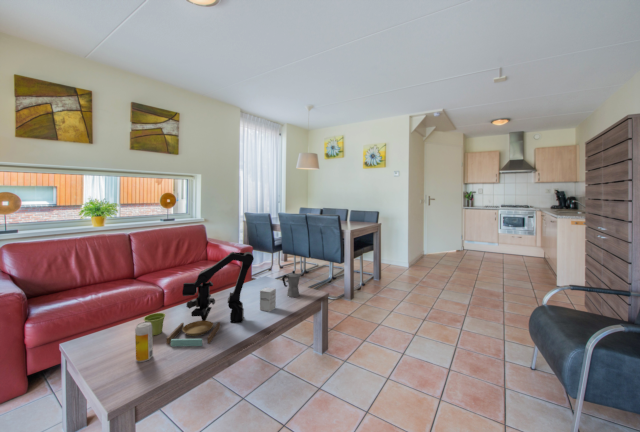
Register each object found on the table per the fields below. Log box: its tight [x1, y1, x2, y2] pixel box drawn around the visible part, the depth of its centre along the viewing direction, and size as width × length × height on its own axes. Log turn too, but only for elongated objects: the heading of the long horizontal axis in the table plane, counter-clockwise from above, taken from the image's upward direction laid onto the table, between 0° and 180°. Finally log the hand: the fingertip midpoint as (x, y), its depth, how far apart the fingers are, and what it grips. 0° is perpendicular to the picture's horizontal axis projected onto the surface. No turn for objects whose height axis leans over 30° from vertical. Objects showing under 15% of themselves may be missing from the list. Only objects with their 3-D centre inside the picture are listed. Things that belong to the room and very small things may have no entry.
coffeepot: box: [281, 270, 303, 298], centre depth 196 cm, size 15×9×18 cm, turn 122°
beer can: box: [134, 321, 154, 363], centre depth 116 cm, size 6×6×15 cm
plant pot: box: [143, 312, 166, 337], centre depth 138 cm, size 9×9×9 cm
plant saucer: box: [181, 320, 214, 337], centre depth 141 cm, size 15×15×3 cm
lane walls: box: [165, 322, 221, 345], centre depth 137 cm, size 20×16×3 cm
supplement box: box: [259, 287, 277, 312], centre depth 171 cm, size 7×7×13 cm
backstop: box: [170, 338, 203, 347], centre depth 127 cm, size 14×1×3 cm, turn 93°
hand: (204, 322), depth 150 cm, fingers closed
